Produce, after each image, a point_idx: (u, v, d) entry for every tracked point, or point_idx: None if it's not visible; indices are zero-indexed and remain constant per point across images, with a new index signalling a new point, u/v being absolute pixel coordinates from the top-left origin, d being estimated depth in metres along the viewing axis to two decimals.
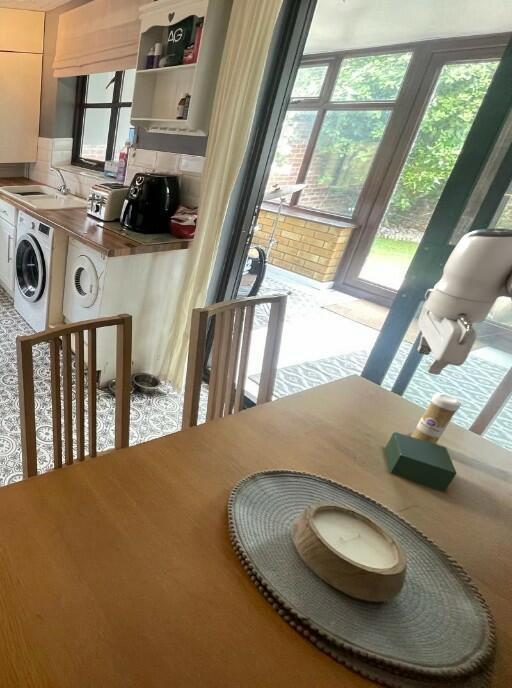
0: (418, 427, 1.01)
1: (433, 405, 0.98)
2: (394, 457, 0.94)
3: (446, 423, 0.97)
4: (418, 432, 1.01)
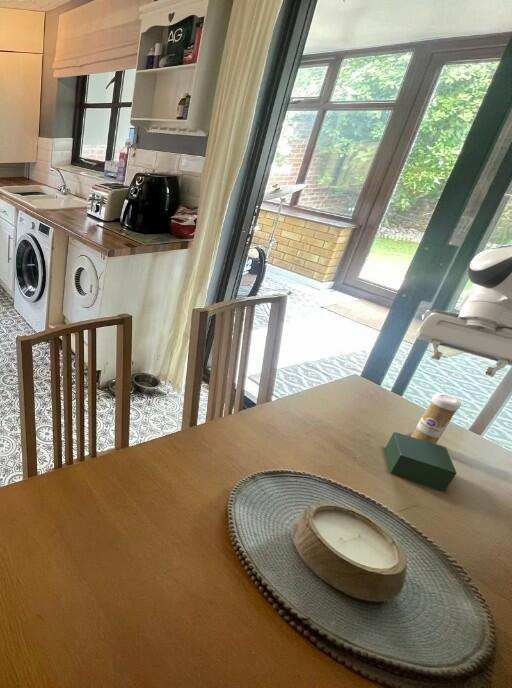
0: (418, 427, 1.01)
1: (433, 405, 0.98)
2: (394, 457, 0.94)
3: (446, 423, 0.97)
4: (418, 432, 1.01)
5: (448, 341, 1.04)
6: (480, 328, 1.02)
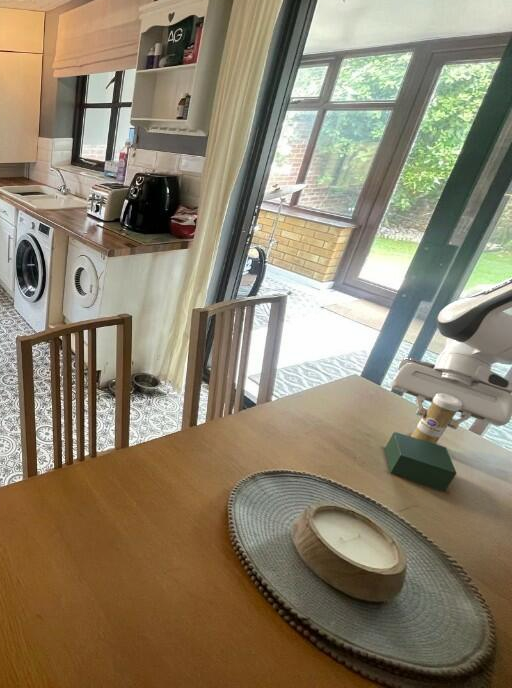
0: (418, 427, 1.01)
1: (434, 405, 0.98)
2: (394, 457, 0.94)
3: (447, 423, 0.97)
4: (418, 432, 1.01)
5: (423, 394, 1.01)
6: (455, 381, 0.99)
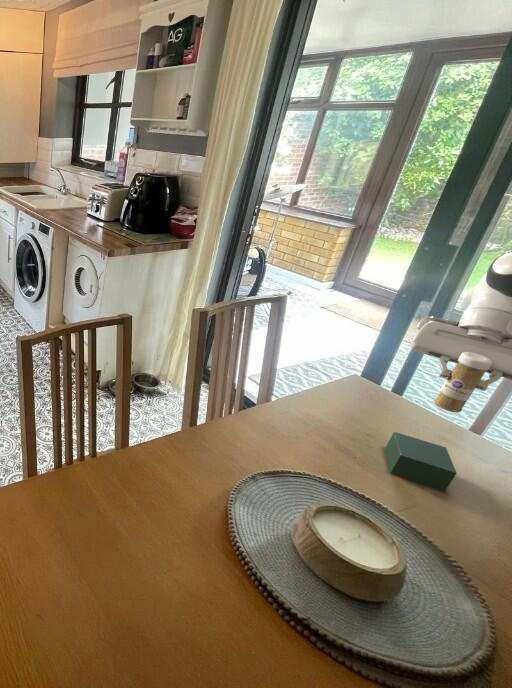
0: (442, 390, 0.92)
1: (460, 365, 0.88)
2: (394, 457, 0.94)
3: (475, 384, 0.87)
4: (442, 396, 0.91)
5: (447, 353, 0.91)
6: (483, 339, 0.89)
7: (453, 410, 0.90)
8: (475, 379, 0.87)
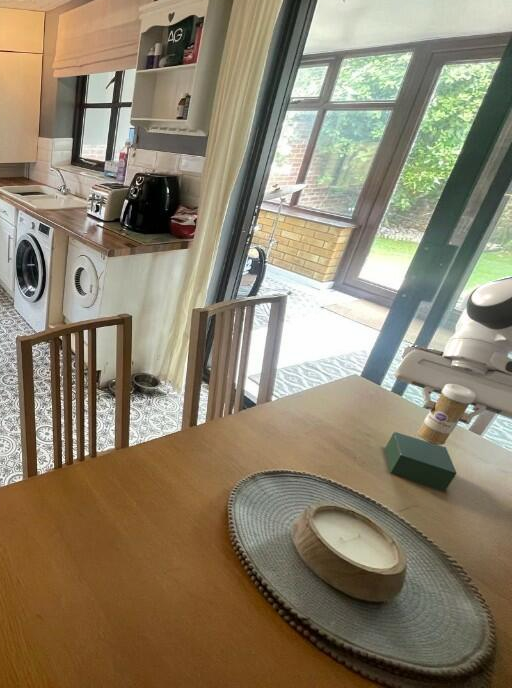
0: (426, 422, 0.90)
1: (444, 397, 0.86)
2: (394, 457, 0.94)
3: (458, 417, 0.85)
4: (426, 428, 0.89)
5: (430, 384, 0.89)
6: (468, 370, 0.87)
7: (436, 442, 0.88)
8: (458, 412, 0.85)
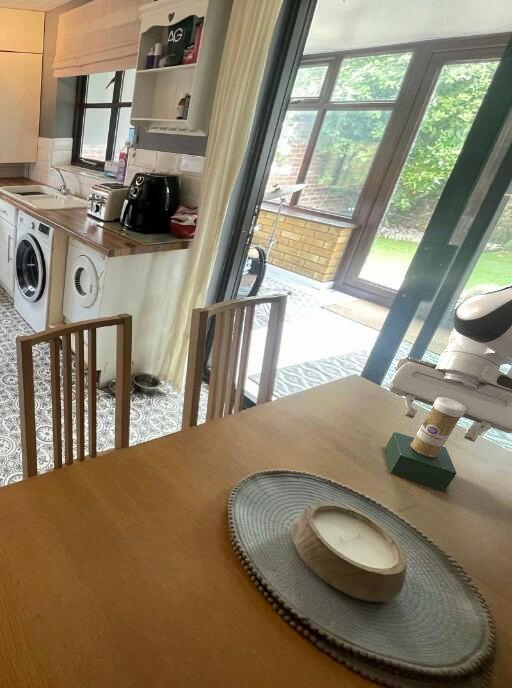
0: (418, 435, 0.91)
1: (435, 411, 0.88)
2: (394, 457, 0.94)
3: (449, 431, 0.87)
4: (418, 441, 0.91)
5: (423, 397, 0.91)
6: (460, 383, 0.88)
7: (429, 455, 0.90)
8: (449, 426, 0.86)
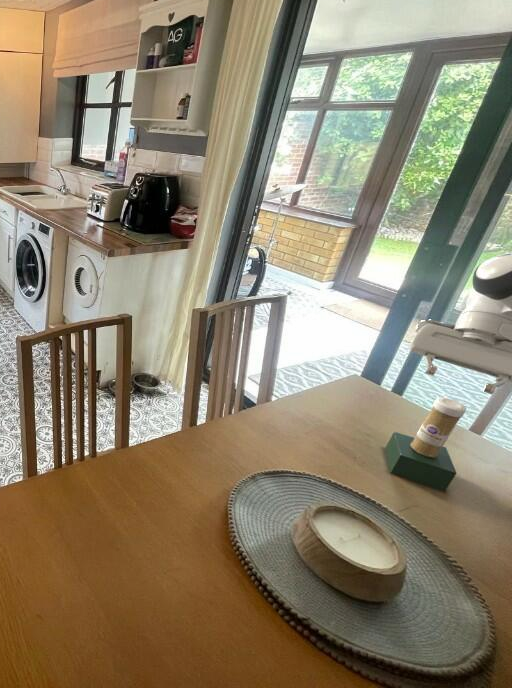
0: (418, 435, 0.91)
1: (435, 411, 0.88)
2: (394, 457, 0.94)
3: (449, 431, 0.87)
4: (418, 441, 0.91)
5: (443, 355, 0.96)
6: (478, 341, 0.94)
7: (429, 455, 0.90)
8: (449, 426, 0.86)
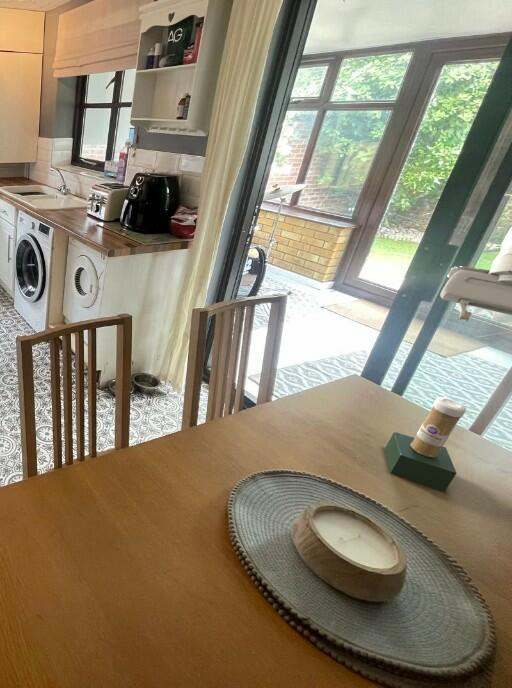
0: (418, 435, 0.91)
1: (435, 411, 0.88)
2: (394, 457, 0.94)
3: (449, 431, 0.87)
4: (418, 441, 0.91)
5: (478, 299, 0.93)
6: None
7: (429, 455, 0.90)
8: (449, 426, 0.86)
